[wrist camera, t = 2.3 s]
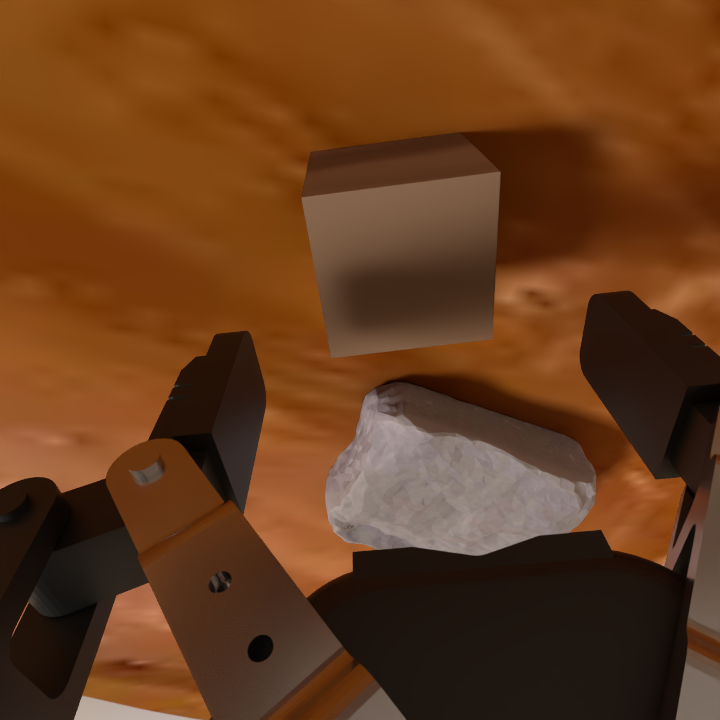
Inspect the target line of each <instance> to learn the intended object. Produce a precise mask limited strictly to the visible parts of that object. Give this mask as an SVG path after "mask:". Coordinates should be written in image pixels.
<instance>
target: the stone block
mask: <svg viewBox="0 0 720 720" xmlns="http://www.w3.org/2000/svg"><path fill="white" fill-rule="evenodd" d="M595 496H596V472H595V470H594V467H593V465H592V464H591V463H590V462H589V461H588V460H587V458H586V456H585V454H584V452H583V449H582V448H581V446H580V445H579V443H577V442H576V441H575V440H573V439H572V438H570V437H568V436H566V435H563V434H561V433H557V432H554V431H551V430H548V429H546V428H543V427H540V426H537V425H533V424H530V423H527V422H524V421H521V420H518V419H515V418H512V417H509V416H506V415H503V414H500V413H497V412H494V411H491V410H488V409H485V408H482V407H479V406H477V405H474V404H469V403H465V402H462V401H459V400H456V399H453V398H451V397H449V396H447V395H444V394H441V393H438V392H435V391H431V390H429V389H426V388H423V387H421V386H417V385H413V384H409V383H402V382H394V383H391V384H388V385H380V386H378V387H375V388H374V389H373V390H372V391H371V392H370V393H369V394H367V395H366V396H365V399H364V401H363V404H362V410H361V416H360V420H359V422H358V425H357V429H356V436H355V438H354V440H353V442H352V443H351V444H350V445H349V446H348V447H347V449H346V450H344V451H343V452H342V453H341V454H340V455H339V457H338V459H337V460H336V463H335V464H334V466H333V467H332V468H331V470H330V472H329V474H328V478H327V482H326V492H325V497H326V508H327V513H328V519H329V523H330V524H332V528H333V531H334V533H336V534H337V535H339V536H340V537H341V538H342V539H343V540H344V541H345V542H349V543H356V544H364V545H368V546H371V547H373V548H375V549H376V550H382V549H393V548H405V547H418V548H425V549H432V550H439V551H446V552H453V553H460V554H467V555H475V556H478V555H484V554H488V553H490V552H493V551H496V550H499V549H502V548H505V547H508V546H511V545H513V544H516V543H519V542H522V541H525V540H528V539H531V538H533V537H536V536H539V535H551V534H562V533H570V532H571V530H572V529H573V528H575V527H576V526H578V525H579V524H580V523H581V522H582V520H583V519H584V518H585V516H586V515H587V514H588V513H589V511H590V510H591V508H592V507H593V505H594V503H595Z"/></svg>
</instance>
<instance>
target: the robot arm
mask: <svg viewBox="0 0 720 720" xmlns="http://www.w3.org/2000/svg"><path fill="white" fill-rule="evenodd" d="M580 364H581V369H582V372H583V374H584V376H585V378H586V379H587V381H588V382H589V384H590V385H591V387H592V388H593V389H594V391H595V392H596V394H597V395H598V397H599V398H600V400H601V401H602V402H603V404H604V405H605V407H606V408H607V410H608V411H609V413H610V414H611V415H612V417H613V418H614V420H615V421H616V423H617V424H618V426H619V427H620V428H621V430H622V431H623V433H624V434H625V436H626V437H627V439H628V440H629V441H630V443H631V444H632V446H633V447H634V449H635V450H636V452H637V453H638V454H639V456H640V457H641V459H642V460H643V462H644V463H645V465H646V466H647V467H648V469H649V470H650V472H651V473H652V475H653V476H654V478H655V479H665V478H676V477H681V478H682V479H683V480H684V482H685V483H686V485H685V487H684V490H683V492H682V495H681V498H680V503H679V507H678V511H677V515H676V520H675V524H674V528H673V533H672V537H671V541H670V545H669V550H668V554H667V558H666V562H665V566H662V565H660V564H657V563H655V562H653V561H650V560H647V559H644V558H641V557H638V556H635V555H632V554H627V553H623V552H619V551H613V550H611V548H610V546H609V545H608V543H607V541H606V539H605V537H604V535H603V533H602V531H601V530H596V531H584V532H573V533H562V534H551V535H539V536H536V537H533V538H531V539H528V540H525V541H522V542H519V543H516V544H513V545H511V546H508V547H505V548H502V549H499V550H496V551H493V552H490V553H488V554H484V555H478V556H475V555H467V554H460V553H453V552H446V551H439V550H432V549H425V548H418V547H405V548H393V549H382V550H371V551H360V552H353V572H350V573H347V574H345V575H342V576H340V577H338V578H336V579H334V580H332V581H330V582H328V583H327V584H325V585H323V586H322V587H320V588H319V589H317V590H316V591H315V592H313V593H312V594H311V595H310V596H308V597H307V598H306V597H305V596H304V595H303V593H302V592H301V591H300V589H299V588H298V587H297V585H296V584H295V583H294V582H293V580H292V579H291V578H290V576H289V575H288V574H287V572H286V571H285V570H284V568H283V567H282V566H281V564H280V563H279V562H278V560H277V559H276V558H275V557H274V555H273V554H272V553H271V551H270V550H269V549H268V547H267V546H266V545H265V543H264V542H263V541H262V539H261V538H260V537H259V535H258V534H257V533H256V532H255V530H254V529H253V528H252V526H251V525H250V524H249V522H248V521H247V520H246V518H245V517H244V516H243V514H244V509H245V504H246V499H247V494H248V490H249V485H250V480H251V475H252V470H253V466H254V461H255V456H256V451H257V446H258V442H259V437H260V432H261V427H262V422H263V418H264V413H265V408H266V392H265V385H264V381H263V377H262V374H261V370H260V366H259V363H258V359H257V355H256V352H255V348H254V345H253V341H252V338H251V335H250V333H249V332H248V331H240V332H230V333H221V334H216V335H215V336H214V338H213V340H212V343H211V345H210V347H209V350H208V352H207V355H206V356H199V357H195V358H194V359H193V360H192V361H191V362H190V363H189V364H188V365H187V366H186V367H185V368H183V369H182V370H181V372H180V374H179V376H178V378H177V381H176V383H175V385H174V386H175V388H173V389H172V391H171V393H170V395H169V397H168V398H169V400H167V402H166V404H165V406H164V408H163V410H162V412H161V414H160V416H159V418H158V420H157V422H156V425H155V427H154V429H153V431H152V433H151V435H150V437H149V439H148V441H146V442H143V443H140V444H138V445H136V446H134V447H132V448H130V449H129V450H127V451H126V452H124V453H123V454H122V455H120V456H119V457H118V458H117V459H116V460H115V461H114V462H113V464H112V465H111V467H110V468H109V470H108V472H107V475H106V478H105V479H103V480H100V481H97V482H94V483H91V484H88V485H85V486H82V487H79V488H76V489H73V490H70V491H67V492H64V493H61V492H60V490H59V489H58V487H57V486H56V484H55V483H54V482H53V481H52V480H50V479H48V478H44V477H33V478H27V479H23V480H20V481H17V482H14V483H12V484H10V485H8V486H6V487H4V488H2V489H0V720H74V717H75V715H76V711H77V709H78V706H79V703H80V700H81V697H82V694H83V691H84V688H85V685H86V682H87V680H88V677H89V674H90V671H91V668H92V665H93V662H94V659H95V656H96V653H97V650H98V647H99V645H100V642H101V639H102V636H103V633H104V630H105V627H106V624H107V621H108V618H109V615H110V612H111V610H112V607H113V604H114V601H115V598H116V595H118V594H121V593H123V592H126V591H128V590H131V589H134V588H136V587H139V586H141V585H144V584H146V583H149V584H150V586H151V588H152V590H153V592H154V594H155V597H156V599H157V601H158V603H159V605H160V607H161V609H162V611H163V614H164V616H165V618H166V620H167V622H168V624H169V626H170V629H171V631H172V633H173V635H174V637H175V639H176V641H177V644H178V646H179V648H180V650H181V652H182V654H183V656H184V659H185V661H186V663H187V665H188V667H189V669H190V671H191V673H192V676H193V678H194V680H195V682H196V684H197V686H198V688H199V691H200V693H201V695H202V697H203V699H204V701H205V703H206V706H207V708H208V710H209V712H210V714H211V716H212V717H211V718H210V720H720V356H719V355H717V354H716V353H715V352H714V351H713V350H712V349H711V348H709V347H708V346H705V343H704V342H702V341H701V340H700V339H699V338H698V337H697V336H696V335H692V332H691V331H690V330H689V329H688V328H686V327H685V326H684V325H683V324H682V323H681V322H680V321H678V320H677V319H675V318H673V317H671V316H669V315H667V314H664V313H662V312H660V311H658V310H656V309H650V308H649V307H648V306H647V305H646V304H645V303H643V302H642V301H641V300H640V299H639V298H638V297H637V296H636V295H635V294H634V293H632V292H631V291H619V292H610V293H601V294H594V295H593V296H592V297H591V298H590V301H589V304H588V309H587V314H586V320H585V325H584V331H583V337H582V342H581V348H580ZM28 601H29V604H28V606H27V608H26V610H25V612H24V614H23V616H22V618H21V620H20V622H19V624H18V626H17V628H16V630H15V632H14V634H13V631H14V629H15V627H16V625H17V623H18V621H19V619H20V617H21V615H22V613H23V611H24V609H25V607H26V605H27V602H28ZM12 634H13V636H12ZM11 637H12V638H11Z"/></svg>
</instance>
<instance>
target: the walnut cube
mask: <svg viewBox="0 0 720 720" xmlns="http://www.w3.org/2000/svg"><path fill="white" fill-rule="evenodd" d="M500 174H501V171H500V170H498V169H497V168H496V167H495V166H494V165H493V164H492V163H491V162H490V161H489V160H488V159H487V158H486V157H485V156H484V155H483V154H482V153H481V152H480V151H479V150H478V149H477V148H476V147H475V146H474V145H473V144H472V143H471V142H470V141H469V140H468V139H466V138H465V137H464V136H463V135H462V134H461V133H460V132H458V133H451V134H443V135H436V136H428V137H421V138H413V139H406V140H398V141H391V142H383V143H376V144H368V145H361V146H353V147H346V148H338V149H331V150H323V151H316V152H310V157H309V162H308V167H307V172H306V177H305V182H304V187H303V192H302V197H301V198H302V204H303V209H304V214H305V220H306V225H307V231H308V236H309V241H310V247H311V252H312V257H313V263H314V268H315V273H316V279H317V284H318V290H319V295H320V300H321V306H322V311H323V316H324V322H325V327H326V332H327V338H328V343H329V349H330V354H331V358H336V357H344V356H353V355H361V354H370V353H379V352H387V351H396V350H404V349H413V348H421V347H430V346H438V345H447V344H455V343H464V342H473V341H481V340H490V339H492V333H493V313H494V293H495V273H496V253H497V233H498V214H499V194H500Z"/></svg>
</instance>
